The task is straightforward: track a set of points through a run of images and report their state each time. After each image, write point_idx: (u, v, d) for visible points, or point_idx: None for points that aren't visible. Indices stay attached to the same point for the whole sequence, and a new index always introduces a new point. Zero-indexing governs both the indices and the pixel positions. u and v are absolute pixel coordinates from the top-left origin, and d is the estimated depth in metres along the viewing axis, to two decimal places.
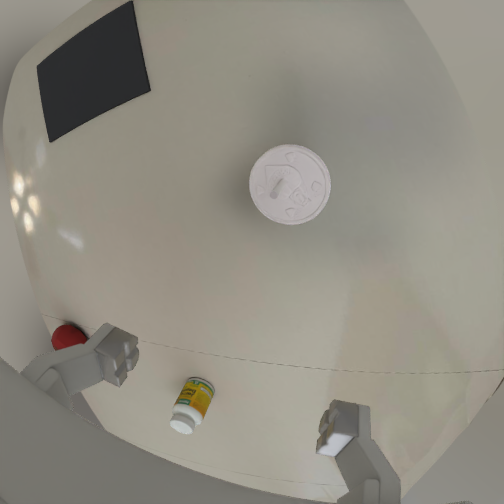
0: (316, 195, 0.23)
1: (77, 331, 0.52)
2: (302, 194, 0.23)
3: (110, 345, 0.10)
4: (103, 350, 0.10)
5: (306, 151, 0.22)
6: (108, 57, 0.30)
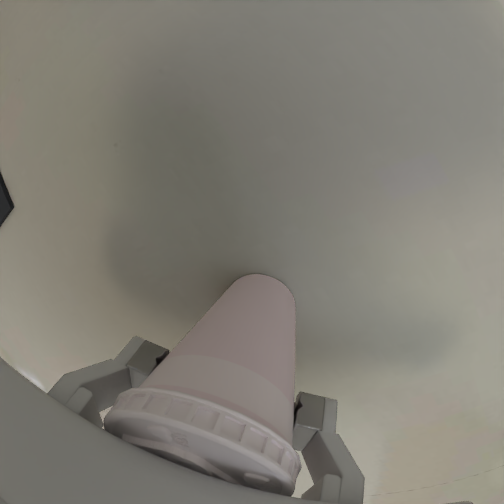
0: (263, 487, 0.07)
1: None
2: None
3: (142, 360, 0.10)
4: (135, 365, 0.10)
5: (194, 430, 0.06)
6: None
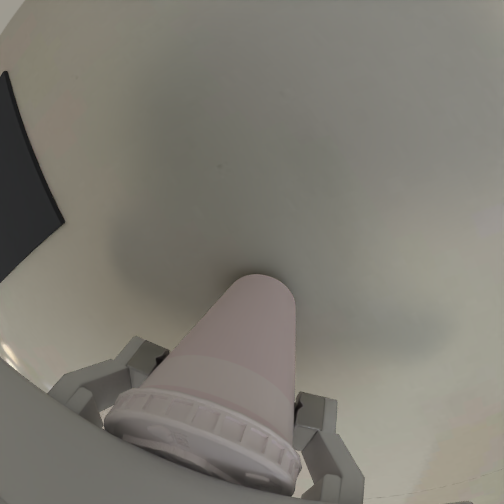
0: (263, 487, 0.07)
1: None
2: None
3: (142, 360, 0.10)
4: (135, 365, 0.10)
5: (194, 430, 0.06)
6: (0, 173, 0.18)
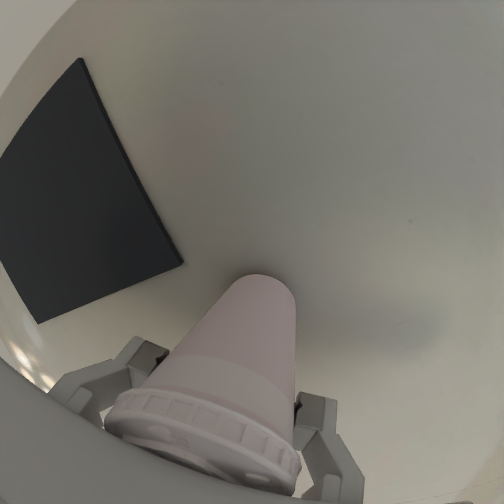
0: (263, 487, 0.07)
1: None
2: None
3: (142, 360, 0.10)
4: (135, 365, 0.10)
5: (194, 430, 0.06)
6: (71, 192, 0.17)
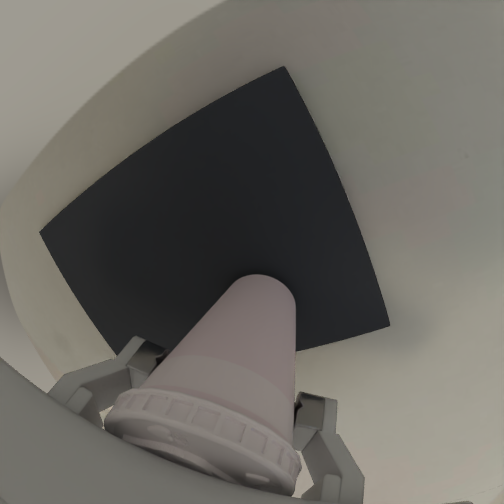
0: (263, 488, 0.07)
1: None
2: None
3: (142, 360, 0.10)
4: (135, 365, 0.10)
5: (194, 430, 0.06)
6: (254, 242, 0.15)
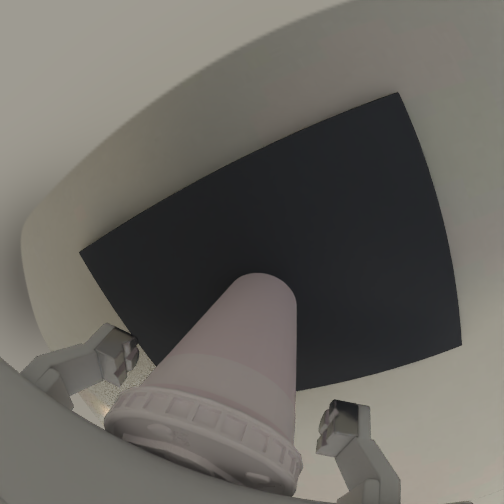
0: (264, 487, 0.07)
1: None
2: None
3: (110, 345, 0.10)
4: (103, 350, 0.10)
5: (195, 429, 0.06)
6: (353, 273, 0.14)
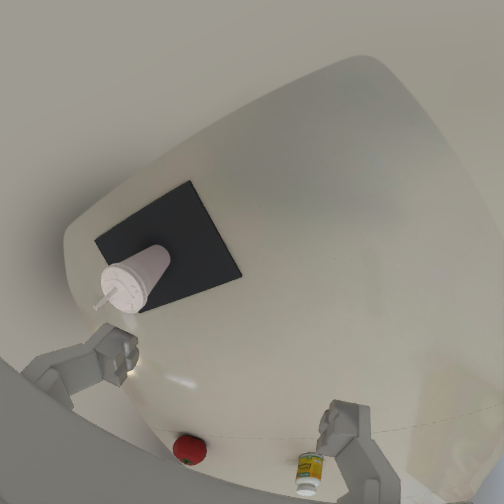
0: (136, 294, 0.33)
1: (195, 440, 0.60)
2: (128, 295, 0.33)
3: (110, 345, 0.10)
4: (103, 350, 0.10)
5: (119, 268, 0.32)
6: (185, 243, 0.40)
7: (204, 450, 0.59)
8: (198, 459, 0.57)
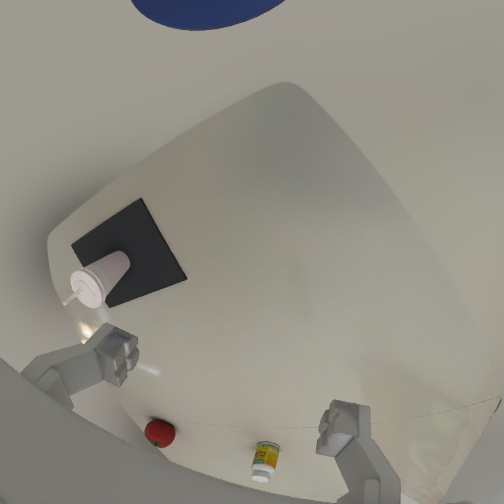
0: (96, 292, 0.39)
1: (164, 424, 0.66)
2: (90, 293, 0.39)
3: (110, 345, 0.10)
4: (103, 350, 0.10)
5: (82, 272, 0.38)
6: (140, 250, 0.46)
7: (172, 434, 0.65)
8: (166, 442, 0.63)
